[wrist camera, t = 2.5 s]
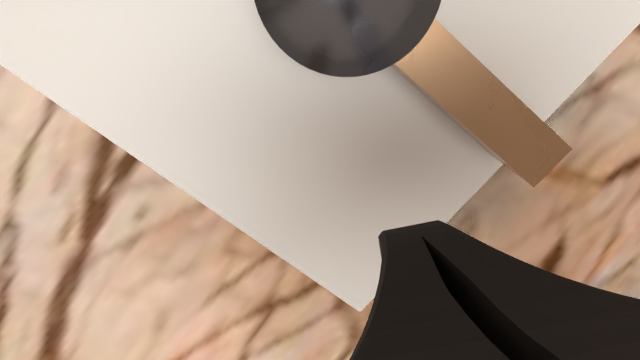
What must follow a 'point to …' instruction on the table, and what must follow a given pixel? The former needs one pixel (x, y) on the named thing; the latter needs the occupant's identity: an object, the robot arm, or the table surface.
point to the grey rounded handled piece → (416, 69)
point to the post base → (297, 113)
